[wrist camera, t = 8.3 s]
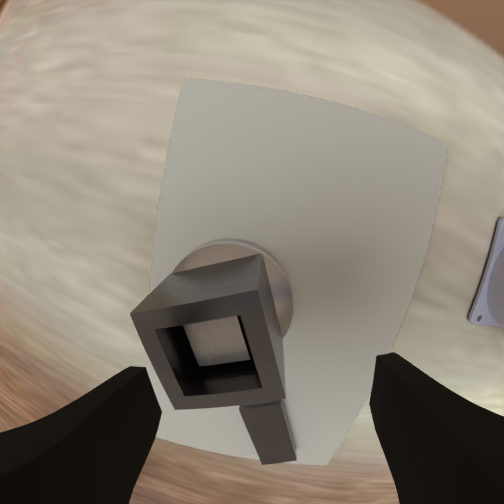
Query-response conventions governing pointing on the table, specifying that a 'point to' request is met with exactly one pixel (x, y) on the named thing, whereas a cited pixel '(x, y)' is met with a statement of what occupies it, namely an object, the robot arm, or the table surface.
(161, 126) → the table surface
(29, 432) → the robot arm
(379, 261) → the mat
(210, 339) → the ratchet
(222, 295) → the socket
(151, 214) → the table surface
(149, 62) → the table surface
